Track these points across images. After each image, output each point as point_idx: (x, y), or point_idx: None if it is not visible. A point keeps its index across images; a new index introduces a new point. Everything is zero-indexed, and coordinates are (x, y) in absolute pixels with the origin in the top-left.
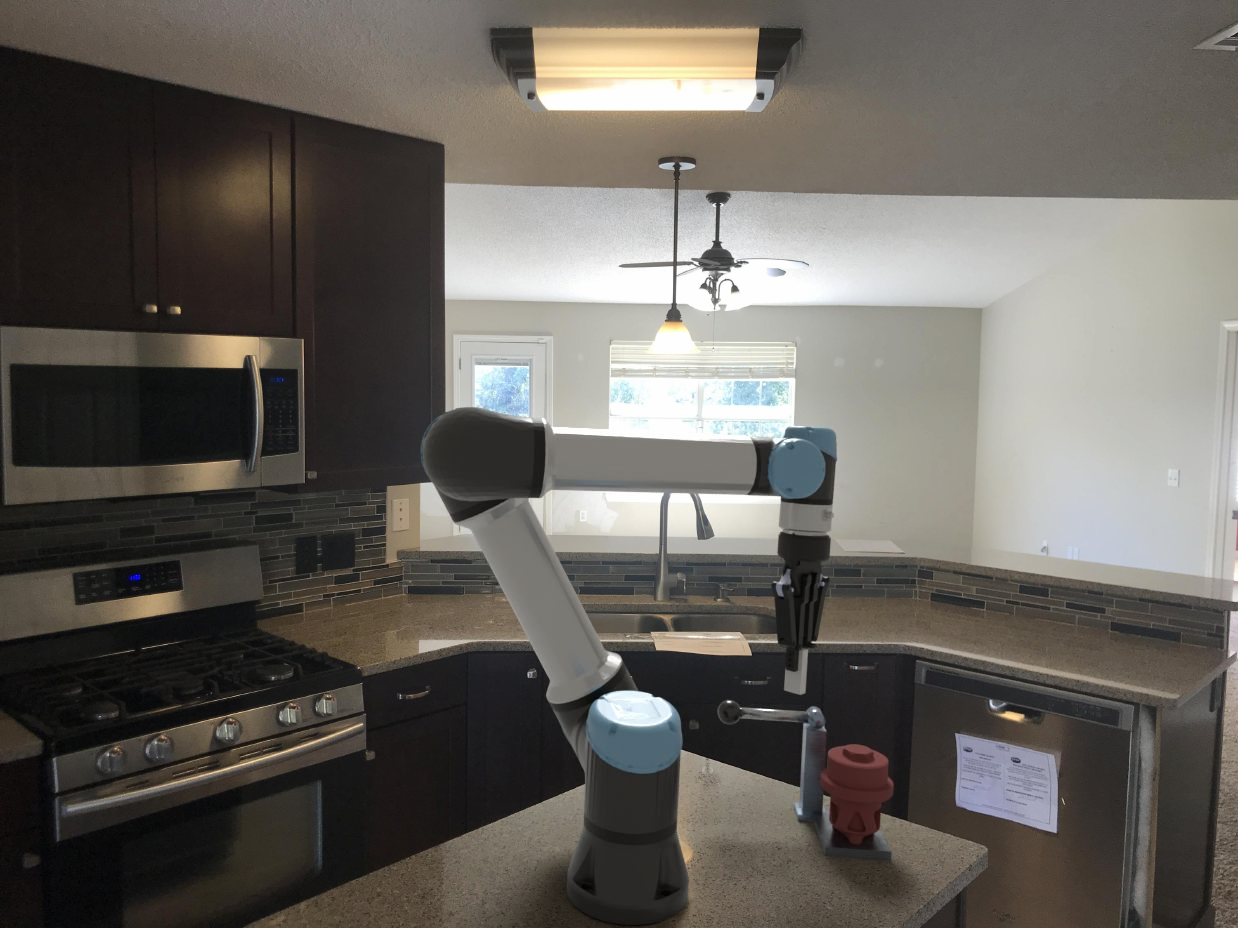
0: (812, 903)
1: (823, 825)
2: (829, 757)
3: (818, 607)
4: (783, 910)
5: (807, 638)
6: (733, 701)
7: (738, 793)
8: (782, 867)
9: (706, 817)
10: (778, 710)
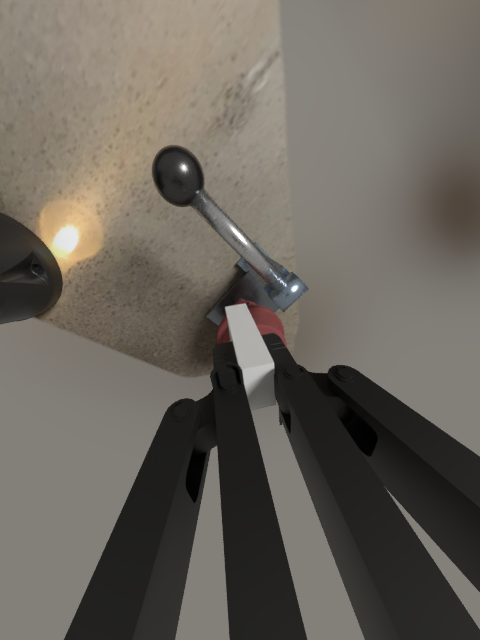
0: (148, 347)
1: (235, 293)
2: (229, 338)
3: (463, 572)
4: (122, 344)
5: (286, 432)
6: (181, 182)
7: (234, 176)
8: (162, 308)
9: (158, 200)
10: (249, 254)
